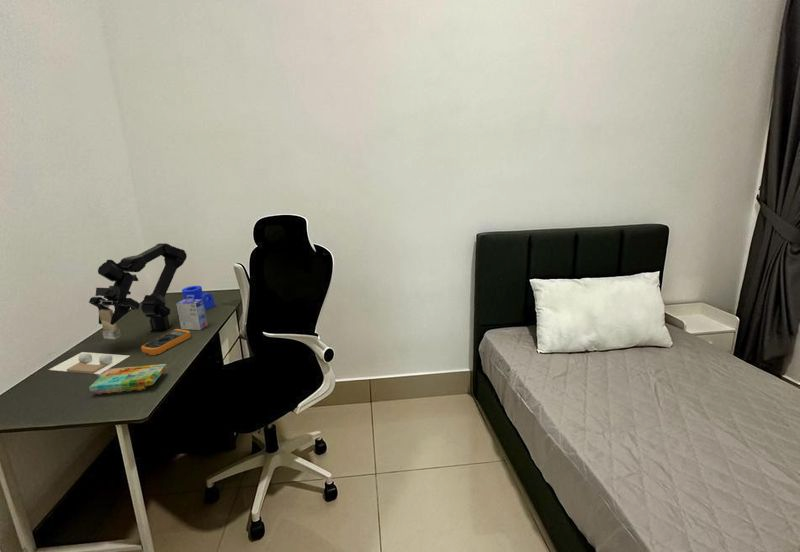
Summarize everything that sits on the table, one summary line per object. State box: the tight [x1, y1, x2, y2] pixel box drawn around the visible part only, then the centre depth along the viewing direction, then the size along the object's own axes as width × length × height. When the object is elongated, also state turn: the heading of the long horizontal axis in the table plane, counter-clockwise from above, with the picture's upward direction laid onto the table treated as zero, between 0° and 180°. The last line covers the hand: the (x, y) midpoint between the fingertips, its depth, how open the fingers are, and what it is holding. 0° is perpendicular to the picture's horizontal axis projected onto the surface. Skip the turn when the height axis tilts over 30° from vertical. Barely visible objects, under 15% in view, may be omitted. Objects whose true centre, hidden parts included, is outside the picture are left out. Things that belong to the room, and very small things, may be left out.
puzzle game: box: [88, 363, 168, 395], centre depth 157 cm, size 12×5×20 cm
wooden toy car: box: [97, 309, 122, 340], centre depth 177 cm, size 3×5×11 cm
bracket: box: [181, 285, 216, 311], centre depth 229 cm, size 20×9×8 cm, turn 51°
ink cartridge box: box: [175, 295, 209, 331], centre depth 200 cm, size 10×6×14 cm, turn 78°
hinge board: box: [48, 351, 130, 378], centre depth 173 cm, size 14×23×4 cm, turn 76°
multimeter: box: [140, 328, 192, 356], centre depth 186 cm, size 9×18×3 cm, turn 156°
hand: (105, 324), depth 176 cm, fingers closed on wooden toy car, 5 cm apart
